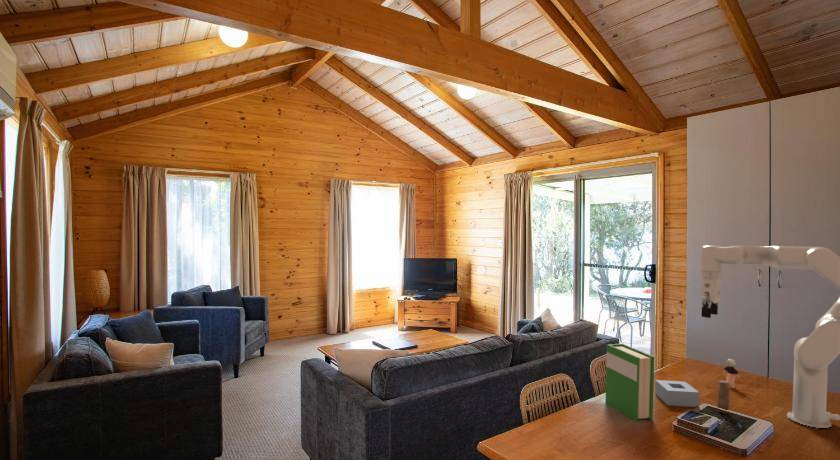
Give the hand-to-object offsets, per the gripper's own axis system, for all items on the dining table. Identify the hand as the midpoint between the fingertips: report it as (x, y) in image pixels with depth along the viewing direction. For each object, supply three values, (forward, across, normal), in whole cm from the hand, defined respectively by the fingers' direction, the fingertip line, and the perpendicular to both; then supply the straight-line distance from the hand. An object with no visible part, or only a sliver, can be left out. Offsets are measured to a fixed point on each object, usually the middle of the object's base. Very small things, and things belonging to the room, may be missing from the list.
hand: (709, 315), depth 187 cm
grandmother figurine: (+36, +25, -3) cm, 43 cm away
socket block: (+35, -11, +8) cm, 38 cm away
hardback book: (+36, -38, +17) cm, 55 cm away
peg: (+35, -10, -8) cm, 38 cm away
